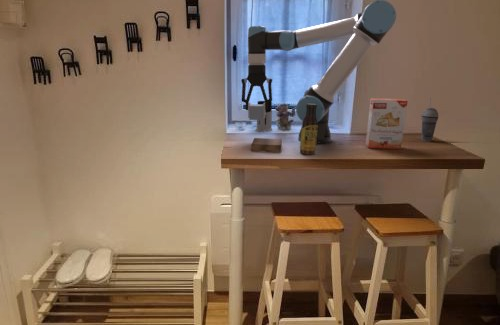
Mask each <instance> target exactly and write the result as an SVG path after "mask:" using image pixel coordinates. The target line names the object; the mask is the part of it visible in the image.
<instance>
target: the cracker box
mask: <svg viewBox="0 0 500 325" xmlns="http://www.w3.org/2000/svg"><path fill="white" fill-rule="evenodd" d="M407 107H408V100H407V99H400V98H370V102H369V111H368V120H367V128H366V136H365V138H366V139H365V146H366V147H367V148H368V149H389V150H401V149H402V144H403V143H402V142H403V137H404V130H405V123H406V116H407V109H408V108H407Z"/></svg>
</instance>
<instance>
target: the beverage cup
mask: <svg viewBox="0 0 500 325" xmlns="http://www.w3.org/2000/svg"><path fill="white" fill-rule="evenodd" d="M428 99H429V101H428V102H429V104H428V107H427V108H425V109H424V110H423V111H422V114H421V132H420V134H421V139H420V140H421V141H422V142H426V143H427V142H429V143H430V142H433V137H434V133H435V130H436V125H437V123H438V119H439V112H438V109H436V108H434V107H431V103H432V102H431V100H432V98H431V97H429V98H428Z"/></svg>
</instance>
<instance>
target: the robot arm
mask: <svg viewBox="0 0 500 325" xmlns="http://www.w3.org/2000/svg"><path fill="white" fill-rule="evenodd" d="M396 19H397V11H396V9H395V7H394V6H393V4H392V3H390V2H389V1H387V0H375V1H372V2H370V3H369V4H367V5H366V6H365V8H364V9H363V11H362V12H358V13H357V14H356V15H355V16H352V17H349V18H344V19H340V20H336V21H331V22H326V23H323V24H318V25H314V26H309V27H305V28H301V29H296V30H287V29H286V30H285V29H284V30H271V31H270V30H267V27H265V26H264V25H253V26H252V25H251V26H249V28H248V30H247V31H248V32H247V33H248V34H247V51H248V52H247V64H248V66H247V77H245V78H241V80H240V81H241V84H242V86H241V102H243V103H245V111H247V112H248V113H247V115H248V116H247V119H249V106H250V105H251V104H252V103H251V102H250V99H251V96H252V92H253V89H254V87H260V90H261V93H262V97H263V101H265V103H263V118H265V110H268V103H269V102H272V101H273V93H272V92H273V91H272V90H273V89H272V83H273V78H268V77H267V75H266V71H267V70H266V59H267V58H266V57H267V56H266V52H267V51H270V50H271V51H272V50H273V51H274V50H275V51H279V50H280V51H286V52H290V51H292V50H296V49H299V48H305V47H310V46H314V45H315V46H316V45H318V44H322V43H323V44H324V43H327V42H333V41H337V40H342V39H347V38H349V39H348V41H347V42H346V44H345V45H344V46H343V48H342V49H341V50H340V52H339V53H338V55H337V56H336V57H335V58H334V60H333V61H332V62H331V64H330V66H329V67H328V69H327V70H326V72H324V74H323V75H322V77H321V78H320V80H318V82H317V83H316V84H313V85H311V86H310V87H309V89H306V90H305V91H304V95H303V97H301V98H300V99H299V100H298V102H297V104H296V109H295V112H296V115H297V117H298V118H299V120H300V121H302V122H303V120H304V118H305V116H306V110H307V107H306V105H307V104H317V108H316V118H317V124H318V129H317V140H316V144H327V143H330V142H331V141H332V135H331V130H330V127H329V120H330V108H331V106H332V105H333V104H334V103H335V95H336V94H337V93H338V91H339V90H340V89H341V87H342V86H344V84H345V82H346V81H347V79H349V77H350V76H351V74H352V73H353V72H354V70H355V69H356V68H357V66H358V65H359V63H361V61H362V60H363V59H364V57H365V56H366V55H367V53H368V52H369V50H371V48H372V47H373V46H377V45H379V44H380V43H381V41H382V40H383V38H384V37H386V35H387V33H388V32H390V30H391V29H392V27H393V26H394V24H395V22H396ZM247 81H248V82H247ZM265 82H266V83H267V88H268V96H267V93H266V91H265V90H266V89H265V87H264V83H265ZM247 83H249V84H250V85H249V89H248V92H247V94H246V88H247ZM246 95H247V96H246ZM301 131H302V126H301V128H300V130H299V132H298V137H297V139H298V141H300V142H301Z"/></svg>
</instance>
